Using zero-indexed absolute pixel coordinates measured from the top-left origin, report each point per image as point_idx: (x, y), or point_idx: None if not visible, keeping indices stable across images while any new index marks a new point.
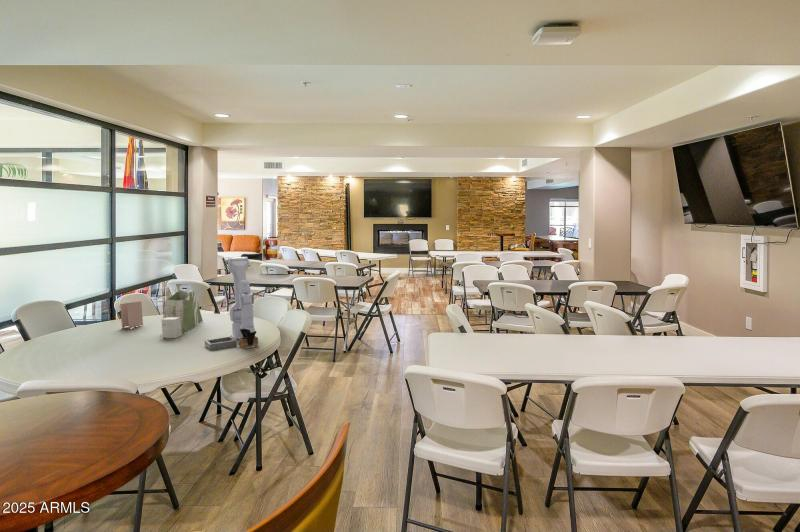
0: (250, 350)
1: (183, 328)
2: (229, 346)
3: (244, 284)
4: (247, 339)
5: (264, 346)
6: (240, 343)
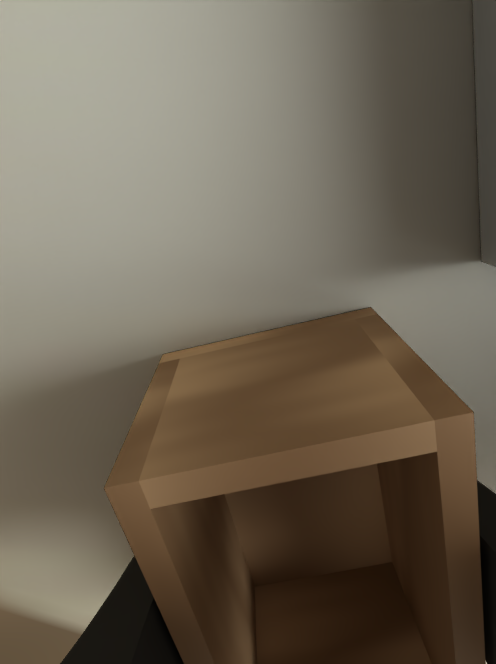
0: (6, 472)
1: None
2: (484, 73)
3: None
4: (90, 627)
5: None
6: (279, 371)
